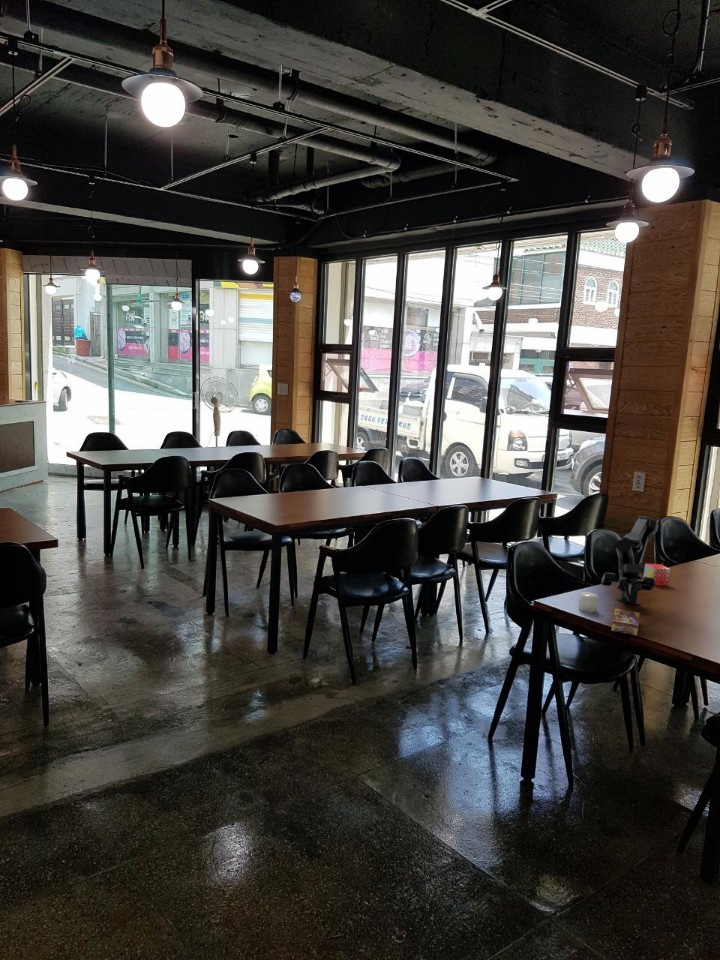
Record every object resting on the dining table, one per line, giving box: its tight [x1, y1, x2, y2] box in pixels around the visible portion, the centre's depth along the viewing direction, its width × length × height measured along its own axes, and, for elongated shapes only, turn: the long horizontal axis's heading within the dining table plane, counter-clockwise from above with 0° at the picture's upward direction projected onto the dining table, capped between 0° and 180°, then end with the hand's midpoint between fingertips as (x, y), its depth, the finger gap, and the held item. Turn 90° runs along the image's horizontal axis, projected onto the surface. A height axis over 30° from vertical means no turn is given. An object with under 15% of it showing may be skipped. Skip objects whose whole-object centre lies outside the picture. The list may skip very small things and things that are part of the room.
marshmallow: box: [577, 591, 599, 613], centre depth 277 cm, size 7×7×6 cm
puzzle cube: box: [642, 563, 671, 586], centre depth 324 cm, size 8×8×8 cm
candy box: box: [611, 608, 640, 636], centre depth 260 cm, size 9×4×15 cm
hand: (629, 601), depth 266 cm, fingers closed
